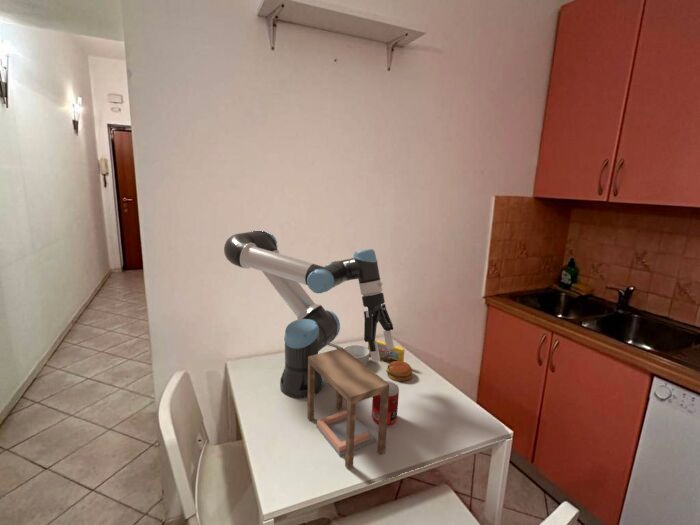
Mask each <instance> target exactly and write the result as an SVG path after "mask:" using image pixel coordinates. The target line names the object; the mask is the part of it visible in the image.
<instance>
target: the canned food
mask: <svg viewBox="0 0 700 525" xmlns="http://www.w3.org/2000/svg"><path fill="white" fill-rule="evenodd" d="M385 381H386V382H387V383H388V384H389V399H388V415H387V426H392V425H394V424H395V423H396V421H397V419H398V410H399V408H398V407H399V397H400V396H399V395H400V394H399V393H400V389H399V388H400V387H399V385H398V384H396V383H394V382H392V381H388V380H385ZM380 399H381V394H379V395H377V396H374V397H372V400H371V401H372V405H371V417H372V420H373V421H374V422H375V423H376V424H378V425H379V416H380Z"/></svg>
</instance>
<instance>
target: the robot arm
mask: <svg viewBox="0 0 700 525" xmlns="http://www.w3.org/2000/svg"><path fill="white" fill-rule="evenodd" d="M252 231H253V232H252ZM252 231H247V232H241V233H234V234H233V235H231V236H230V237H229V238H227V239H226V241H225V244H224V248H223V253H224V256H225V258H226V260H227V261H229V263H231V264H232V265H234V266H236V267H239V268H243V269H246V270H248V269H250V268H251V269H255V270H256V271H257V270H258V271H261V272H262V273H263V275H264V276H265V277H266V279H267V280H268V281H269V282H270V284H271V285H272V287H273V288H274V289H275V291H276V292H277V293H278V294H279V296H280V297H281V298H282V299H283V301H284V303H286V304H287V306H288V307H289V308H290V310H291V311H292V313H293V314H294V316H296V318H297V319H296V320H293V321H291V322H290V323H289V324H288V325H287V326H286V327H285V330H284V338H283V339H284V367H283V368H284V369H283V372H282V374H281V378H280V382H279V384H280V385H279V386H280V387H279V388H280V391H281V392H282V393H283V394H284V395H287V396H289V397H293V398H308V356H312V355H316V354H319V353H320V351H321V350H322V349H323V348H325V347H326V346H328V345H327V344H329V343H332V342H333V341H334V340H335V339H336V338H337V337H338V335H339V333H340V330H341V323H340V319H339V317H338V315H337V314H335V312H334V311H332V310H327V309H325V308H324V307H323V306H322V304H318V303H315V301H314V300H313V299H312V298H311V297H310V295H309V294H308V292H307V291H306V290H305V289H304V288H303V286H302V285H304V286H305V285H306V286H307V287H308V289H309V290H310V291H312V292H313V294H323V293H326V292H328V291H330V290H331V289H333V288H335V287H337V286H339V285H341V284H343V283H344V282H347V281H353V280H358V285H359V289H360V290H359V291H360V295H362V297H361V300H362V305H363V307H365V308H367V310H365V311H363V315H364V316H363V317H364V327H363V328H364V332H363V336H364V337H363V338H364V339H363V340H364V342H365V343H367V344H368V343H369V348H370V353H371V357H370V358H371V362H376V361H378V362H381V361H380V356H379V350H378V345H377V340H378V339H376V334H377V326H378V323H379V324H380V326H381V327H382V329H383V330H384V331H383V336H384V340H385V341H384V342H385V343H386V348H387V349H394V345H395V344H394V338H393V335H392V331H393V330H394V325H393V322H392V320H391V317H390V315H389V312H388V310H387V307H386V304H385V296H384V292H383V287H382V286H383V283H382V281H381V277H380V270H379V265H378V264H379V263H378V259H377V255H376V252H375V250H374V248H367V249H362V250H358V251H357V250H356V251H354V252H353V257H352V258H348V259H347V258H346V259H342V260H335V261H332V262H328V263H327V264H325V265H324V266H323V265H319V264H316V263H312V262H309V261H305V260H302V259H298V258H295V257H292V256H288V255H286V254H282V253H280V251H279V249H278V241H277V239H276V236H274V235H273V234H272V233H271V234H272V235H271V234H269V233H267V232H265V231H266V230H265V231H263V232H262V231H255V230H252ZM301 284H302V285H301ZM375 339H376V340H375ZM323 380H324V378H323V377H322V376H321V375H320V374H319V373H318V372H317V371H316V370H315V379H314V395H316V394H318V393H319V392H321V390H322V389H323Z"/></svg>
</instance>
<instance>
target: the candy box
mask: <svg viewBox="0 0 700 525" xmlns="http://www.w3.org/2000/svg"><path fill="white" fill-rule="evenodd" d="M375 340H377V345H378V350H379V356H380V361H379V362H383V363H385V364H388V365H389V364H390V363H391V362H393V361H402V362H405V348H404V347H401V346H397V345H395V344H394V349H387V348H386V343H385V341H382V340H379V339H377V338H375ZM367 348H368V349H369V350H370V348H369V343H368V342H367ZM369 358H371V353H370V354H369Z"/></svg>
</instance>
